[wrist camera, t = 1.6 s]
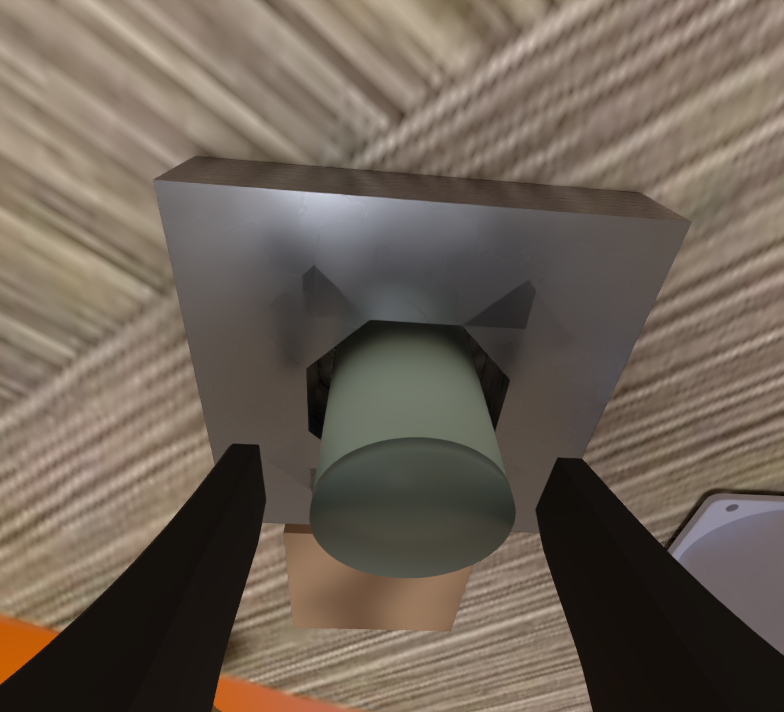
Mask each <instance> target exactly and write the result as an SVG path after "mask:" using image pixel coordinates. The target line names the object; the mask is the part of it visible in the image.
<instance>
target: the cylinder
mask: <svg viewBox="0 0 784 712" xmlns="http://www.w3.org/2000/svg"><path fill="white" fill-rule="evenodd" d="M515 515H516V509H515V502H514V499H513V495H512V492H511V488H510V485H509V481H508V478H507V474H506V471H505V467H504V464H503V460H502V457H501V453H500V450H499V446H498V443H497V439H496V436H495V432H494V429H493V426H492V422H491V419H490V415H489V412H488V408H487V405H486V401H485V398H484V394H483V391H482V387H481V384H480V380H479V377H478V373H477V370H476V366H475V363H474V359H473V356H472V352H471V349H470V345H469V342H468V339H467V336H466V333H465V331H464V329H463V328H462V326H461V325H447V324H431V323H415V322H399V321H383V320H369V321H368V322H366V323H365V324H364V325H362V326H361V327H360V328H358V329H357V330H356V331H354V332H353V333H352V334H351V335H349V336H348V337H347V338H345V339H344V340H343V341H341V342H340V343H339V344H337V346H336V352H335V358H334V364H333V370H332V376H331V383H330V389H329V395H328V401H327V407H326V414H325V420H324V426H323V432H322V438H321V444H320V451H319V457H318V463H317V469H316V475H315V482H314V488H313V494H312V500H311V506H310V514H309V522H310V528H311V531H312V534H313V536H314V538H315V539H316V541H317V543H318V544H319V545H320V546H321V547H322V549H323V550H324V551H325V552H327V553H328V554H329V555H330V556H331V557H333V558H334V559H336V560H337V561H339V562H341V563H343V564H345V565H346V566H348V567H351V568H353V569H356V570H358V571H362V572H365V573H368V574H373V575H378V576H384V577H391V578H424V577H432V576H439V575H443V574H448V573H451V572H455V571H458V570H461V569H464V568H466V567H469V566H471V565H473V564H475V563H477V562H479V561H481V560H482V559H484V558H486V557H487V556H489V555H490V554H491V553H493V552H494V551H495V550H496V549H498V548H499V547H500V545H501V544H502V543H503V542H504V541H505V540H506V538H507V537H508V536H509V534H510V532H511V530H512V528H513V525H514V522H515Z"/></svg>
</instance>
